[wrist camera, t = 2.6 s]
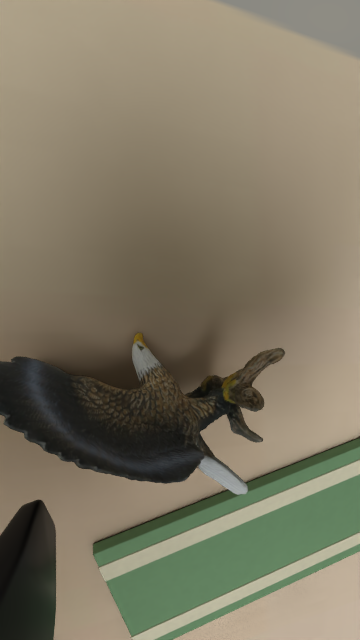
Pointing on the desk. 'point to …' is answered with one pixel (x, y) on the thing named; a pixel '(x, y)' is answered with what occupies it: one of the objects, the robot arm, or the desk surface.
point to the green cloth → (234, 546)
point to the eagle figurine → (131, 417)
